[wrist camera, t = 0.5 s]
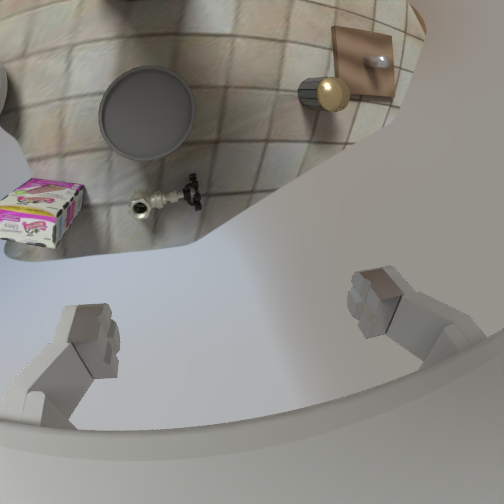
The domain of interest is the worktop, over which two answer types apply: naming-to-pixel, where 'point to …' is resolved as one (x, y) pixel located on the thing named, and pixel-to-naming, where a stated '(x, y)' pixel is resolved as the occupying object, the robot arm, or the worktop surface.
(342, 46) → the post board
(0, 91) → the cereal bowl
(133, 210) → the valve
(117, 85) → the reusable coffee cup
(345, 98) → the gold-topped grooved cylinder
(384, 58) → the steel post
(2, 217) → the candy bar box
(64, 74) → the worktop surface
